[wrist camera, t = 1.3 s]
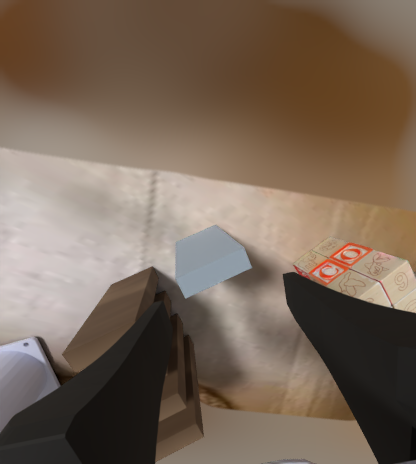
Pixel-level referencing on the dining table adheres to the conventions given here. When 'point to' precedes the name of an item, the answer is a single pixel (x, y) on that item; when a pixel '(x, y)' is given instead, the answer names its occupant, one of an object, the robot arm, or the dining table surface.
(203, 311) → the dining table surface
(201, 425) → the domino
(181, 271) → the domino
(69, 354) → the domino
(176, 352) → the domino
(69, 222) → the dining table surface
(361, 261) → the stack of blocks
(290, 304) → the robot arm
